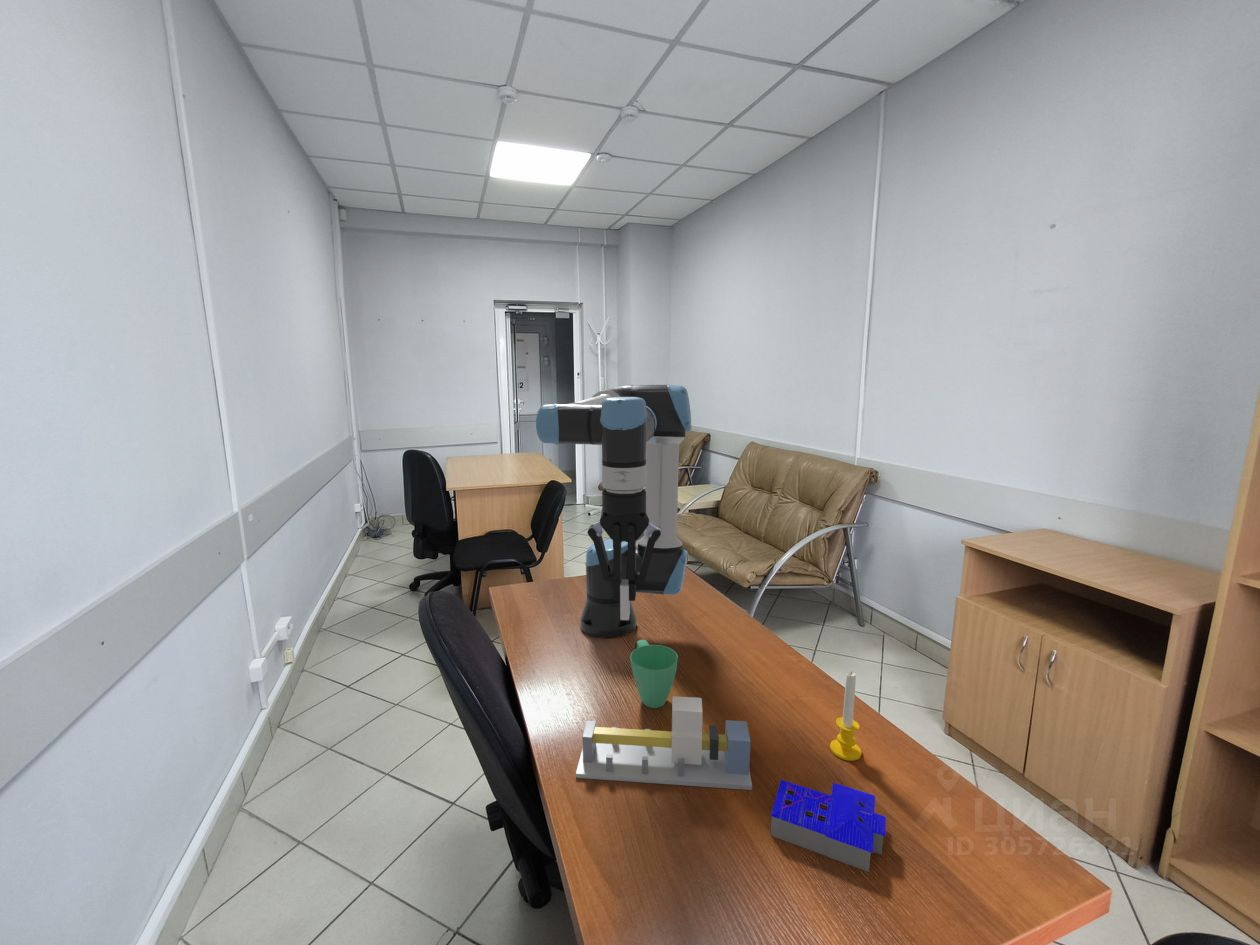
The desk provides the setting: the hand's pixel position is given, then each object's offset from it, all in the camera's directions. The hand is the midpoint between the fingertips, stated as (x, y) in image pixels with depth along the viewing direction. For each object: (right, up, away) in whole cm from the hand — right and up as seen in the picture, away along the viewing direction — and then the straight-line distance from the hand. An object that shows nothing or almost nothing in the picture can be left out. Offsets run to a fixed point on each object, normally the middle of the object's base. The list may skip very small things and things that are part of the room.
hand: (625, 616), depth 95 cm
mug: (+5, -21, +17) cm, 28 cm away
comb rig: (+7, -25, -3) cm, 26 cm away
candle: (+40, -24, 0) cm, 46 cm away
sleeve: (+11, -23, -4) cm, 25 cm away
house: (+30, -28, -16) cm, 44 cm away
